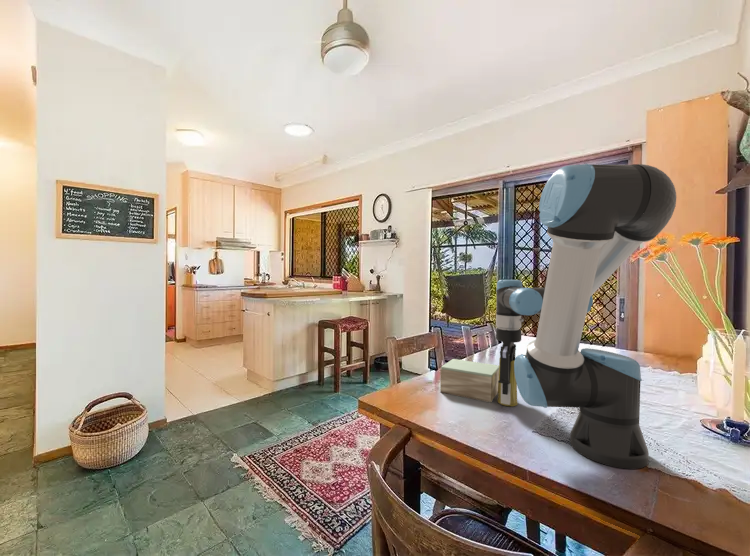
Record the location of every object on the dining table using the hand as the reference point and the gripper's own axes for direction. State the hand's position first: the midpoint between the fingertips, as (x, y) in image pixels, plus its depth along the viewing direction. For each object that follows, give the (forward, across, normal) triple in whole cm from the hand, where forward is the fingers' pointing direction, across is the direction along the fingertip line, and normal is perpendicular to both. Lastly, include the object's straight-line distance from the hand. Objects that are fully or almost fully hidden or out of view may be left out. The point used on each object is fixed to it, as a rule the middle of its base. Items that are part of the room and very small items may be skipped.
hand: (507, 400), depth 109 cm
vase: (+1, 0, 0) cm, 1 cm away
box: (+1, +4, +13) cm, 14 cm away
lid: (-7, +4, +13) cm, 15 cm away
